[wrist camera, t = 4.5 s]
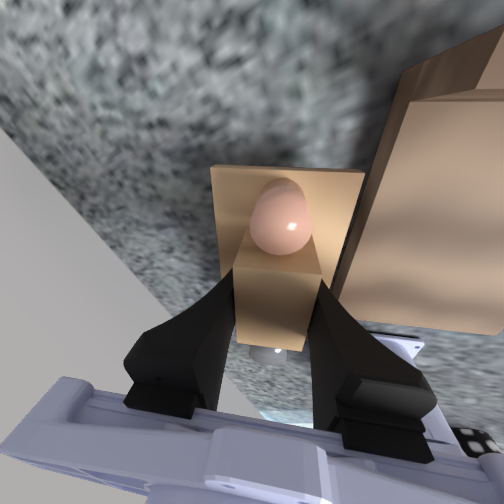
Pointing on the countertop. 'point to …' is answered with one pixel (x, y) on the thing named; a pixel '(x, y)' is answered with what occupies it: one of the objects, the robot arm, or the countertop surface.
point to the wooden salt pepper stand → (280, 246)
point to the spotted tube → (475, 442)
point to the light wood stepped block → (435, 200)
